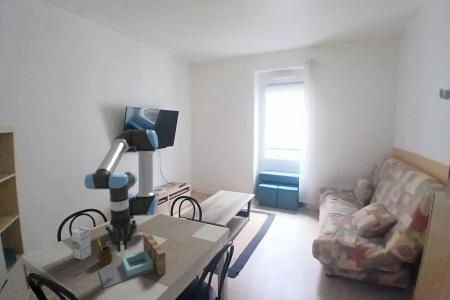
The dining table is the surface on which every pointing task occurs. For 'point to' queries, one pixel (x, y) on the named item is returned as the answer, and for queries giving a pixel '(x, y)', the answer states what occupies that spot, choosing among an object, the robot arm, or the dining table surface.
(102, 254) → the utensil holder
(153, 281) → the dining table surface
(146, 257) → the socket frame
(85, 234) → the syrup box
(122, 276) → the grey flat plate
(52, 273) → the dining table surface
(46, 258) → the dining table surface
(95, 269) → the dining table surface
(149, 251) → the backstop wall
